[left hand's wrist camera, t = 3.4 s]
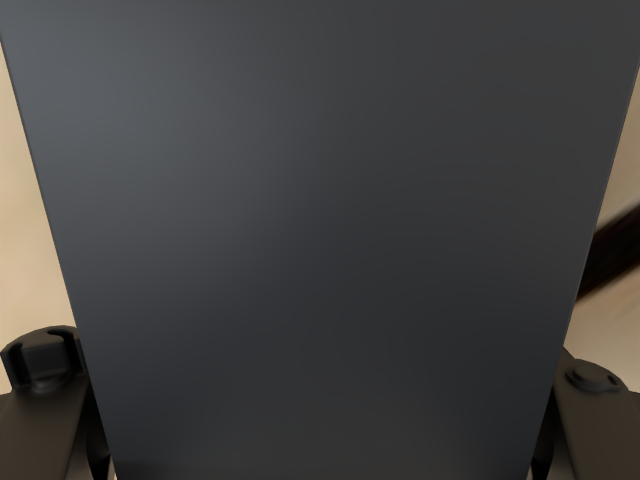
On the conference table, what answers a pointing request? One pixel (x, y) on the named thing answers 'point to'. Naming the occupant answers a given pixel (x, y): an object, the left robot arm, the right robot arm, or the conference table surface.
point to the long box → (322, 221)
